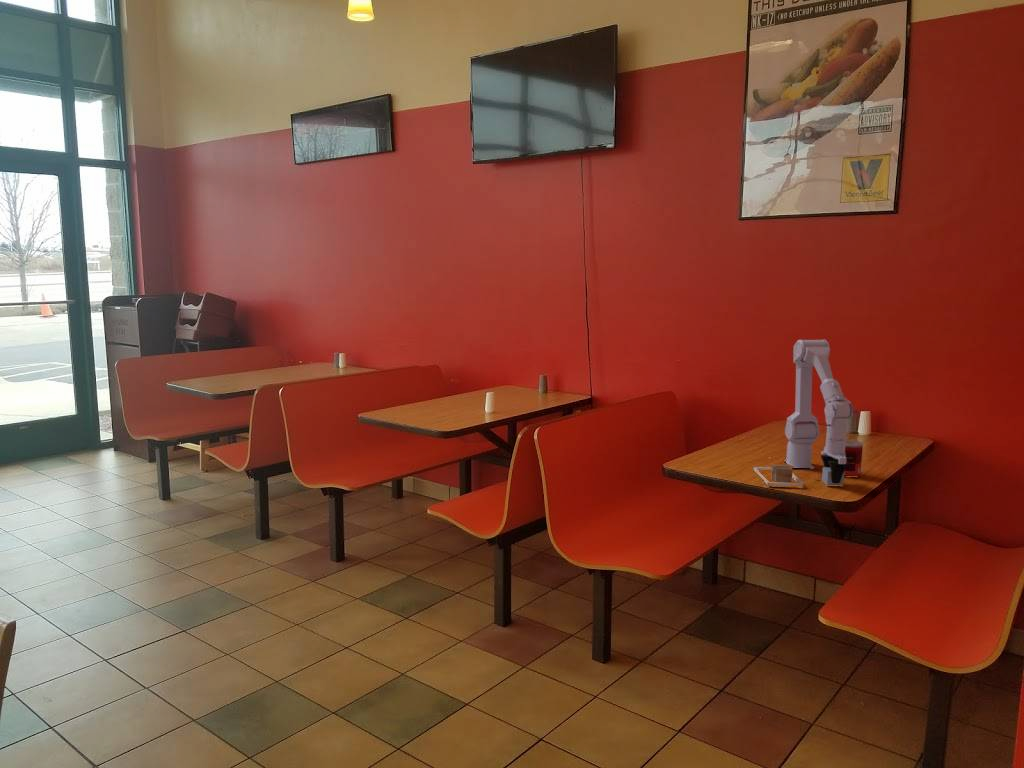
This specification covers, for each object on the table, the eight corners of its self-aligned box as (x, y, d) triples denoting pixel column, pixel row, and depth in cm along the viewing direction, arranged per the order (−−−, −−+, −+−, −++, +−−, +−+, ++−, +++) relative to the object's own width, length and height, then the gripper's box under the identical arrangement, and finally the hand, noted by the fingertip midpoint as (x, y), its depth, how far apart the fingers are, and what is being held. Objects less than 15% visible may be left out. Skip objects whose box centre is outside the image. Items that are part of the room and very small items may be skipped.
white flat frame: (753, 471, 260) (753, 466, 260) (786, 472, 259) (787, 467, 259) (767, 487, 242) (767, 482, 242) (803, 488, 241) (803, 483, 241)
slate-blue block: (821, 482, 248) (822, 467, 248) (837, 482, 248) (838, 467, 247) (826, 486, 243) (828, 471, 243) (843, 487, 243) (844, 471, 242)
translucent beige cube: (771, 479, 249) (772, 464, 248) (787, 480, 249) (788, 464, 248) (775, 484, 244) (776, 468, 244) (791, 484, 244) (792, 469, 243)
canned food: (853, 471, 261) (856, 439, 259) (864, 478, 253) (867, 445, 251) (830, 471, 261) (833, 439, 259) (841, 478, 253) (844, 445, 251)
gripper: (815, 432, 251) (812, 473, 253) (830, 443, 236) (827, 486, 239) (837, 433, 250) (834, 474, 253) (854, 444, 236) (851, 487, 238)
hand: (832, 480), depth 246 cm, fingers closed on slate-blue block, 5 cm apart
